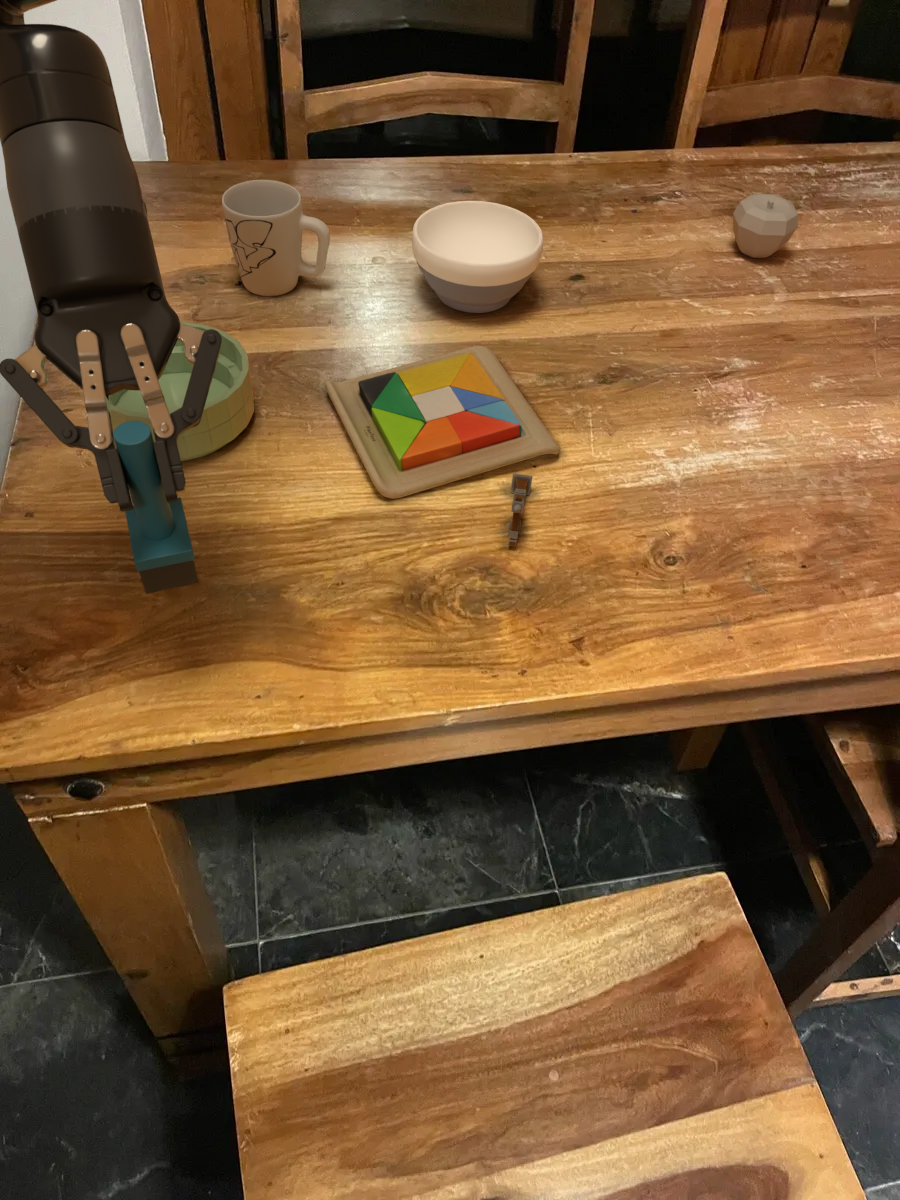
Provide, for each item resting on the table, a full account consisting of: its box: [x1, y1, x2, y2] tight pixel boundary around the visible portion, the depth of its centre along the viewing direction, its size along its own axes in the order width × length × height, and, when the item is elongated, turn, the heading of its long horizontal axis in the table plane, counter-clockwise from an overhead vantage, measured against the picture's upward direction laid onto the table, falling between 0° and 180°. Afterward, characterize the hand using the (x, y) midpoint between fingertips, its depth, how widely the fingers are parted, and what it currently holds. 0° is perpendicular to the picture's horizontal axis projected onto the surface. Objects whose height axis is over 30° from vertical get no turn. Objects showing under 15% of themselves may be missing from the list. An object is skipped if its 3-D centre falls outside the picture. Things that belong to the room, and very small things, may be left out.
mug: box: [221, 179, 331, 297], centre depth 104 cm, size 11×8×10 cm
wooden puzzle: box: [324, 345, 561, 500], centre depth 91 cm, size 18×19×4 cm
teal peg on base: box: [113, 421, 200, 595], centre depth 61 cm, size 5×4×12 cm
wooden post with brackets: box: [507, 472, 533, 547], centre depth 83 cm, size 2×8×4 cm, turn 171°
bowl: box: [411, 200, 544, 314], centre depth 105 cm, size 14×14×8 cm
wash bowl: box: [109, 321, 255, 462], centre depth 89 cm, size 15×15×6 cm
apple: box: [732, 193, 799, 259], centre depth 115 cm, size 8×8×7 cm
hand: (150, 504), depth 58 cm, fingers closed on teal peg on base, 2 cm apart
